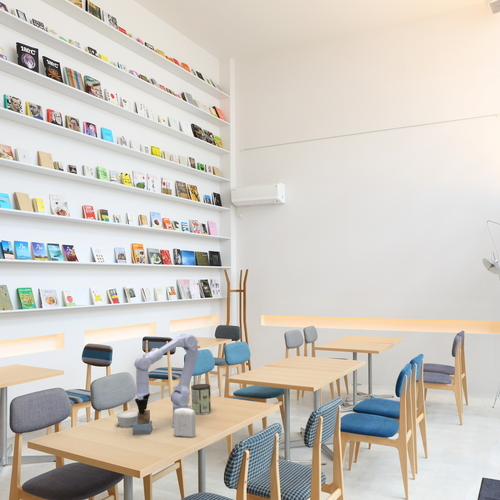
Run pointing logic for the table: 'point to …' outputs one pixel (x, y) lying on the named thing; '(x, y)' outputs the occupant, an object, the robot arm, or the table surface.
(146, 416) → the walnut cube
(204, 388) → the coffee can
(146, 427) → the tower top
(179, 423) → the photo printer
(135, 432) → the tower base
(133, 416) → the ramekin
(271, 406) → the table surface
